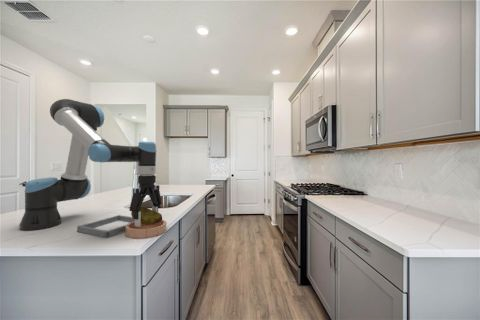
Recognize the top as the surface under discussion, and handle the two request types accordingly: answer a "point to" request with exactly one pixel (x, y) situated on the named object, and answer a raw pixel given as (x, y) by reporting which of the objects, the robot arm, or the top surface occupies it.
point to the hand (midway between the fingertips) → (146, 222)
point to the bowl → (145, 230)
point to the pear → (148, 216)
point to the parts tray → (91, 229)
